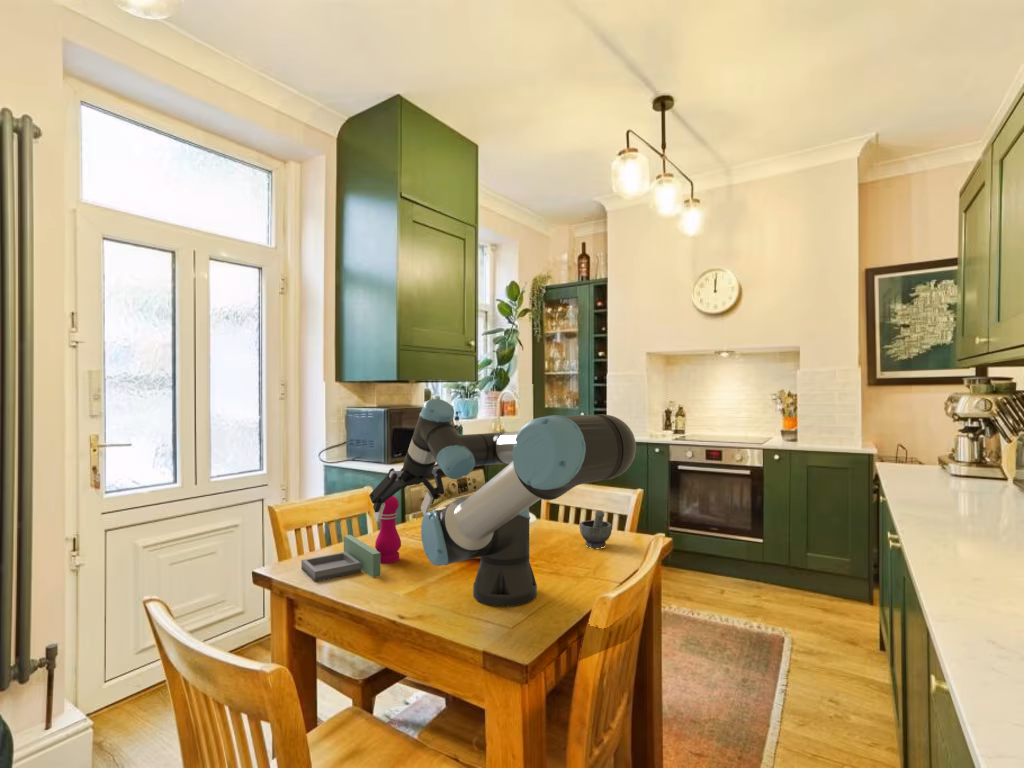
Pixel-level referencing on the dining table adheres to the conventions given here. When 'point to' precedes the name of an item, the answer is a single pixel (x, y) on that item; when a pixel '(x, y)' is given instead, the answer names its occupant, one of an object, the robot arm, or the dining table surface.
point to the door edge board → (363, 555)
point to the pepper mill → (388, 533)
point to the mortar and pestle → (596, 531)
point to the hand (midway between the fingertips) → (400, 515)
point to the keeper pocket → (330, 566)
